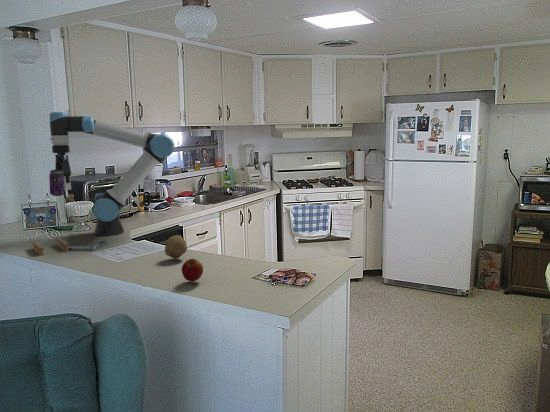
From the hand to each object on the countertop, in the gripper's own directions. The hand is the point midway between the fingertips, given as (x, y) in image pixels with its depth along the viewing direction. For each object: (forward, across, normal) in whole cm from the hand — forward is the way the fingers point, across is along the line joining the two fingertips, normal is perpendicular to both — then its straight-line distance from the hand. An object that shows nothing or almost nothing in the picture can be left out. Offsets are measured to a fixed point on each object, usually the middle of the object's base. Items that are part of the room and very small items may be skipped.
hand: (64, 188), depth 223 cm
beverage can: (+3, -6, -2) cm, 7 cm away
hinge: (+27, +25, +4) cm, 37 cm away
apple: (+27, +96, +18) cm, 101 cm away
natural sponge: (+27, +65, +27) cm, 75 cm away
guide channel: (+27, +12, -11) cm, 31 cm away
